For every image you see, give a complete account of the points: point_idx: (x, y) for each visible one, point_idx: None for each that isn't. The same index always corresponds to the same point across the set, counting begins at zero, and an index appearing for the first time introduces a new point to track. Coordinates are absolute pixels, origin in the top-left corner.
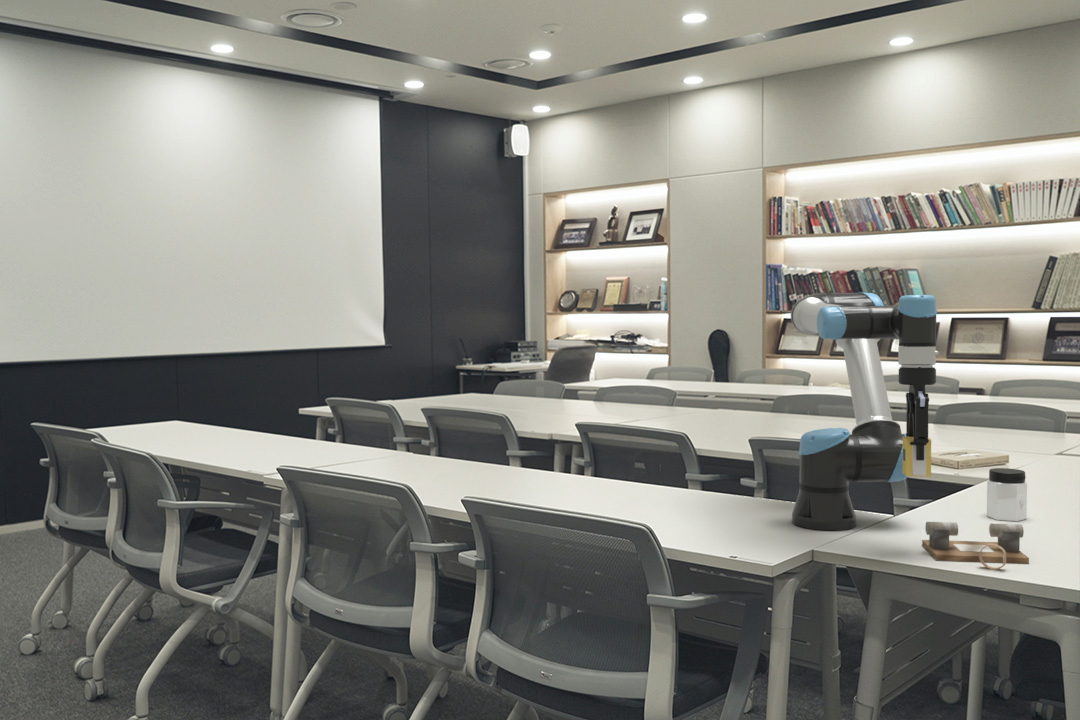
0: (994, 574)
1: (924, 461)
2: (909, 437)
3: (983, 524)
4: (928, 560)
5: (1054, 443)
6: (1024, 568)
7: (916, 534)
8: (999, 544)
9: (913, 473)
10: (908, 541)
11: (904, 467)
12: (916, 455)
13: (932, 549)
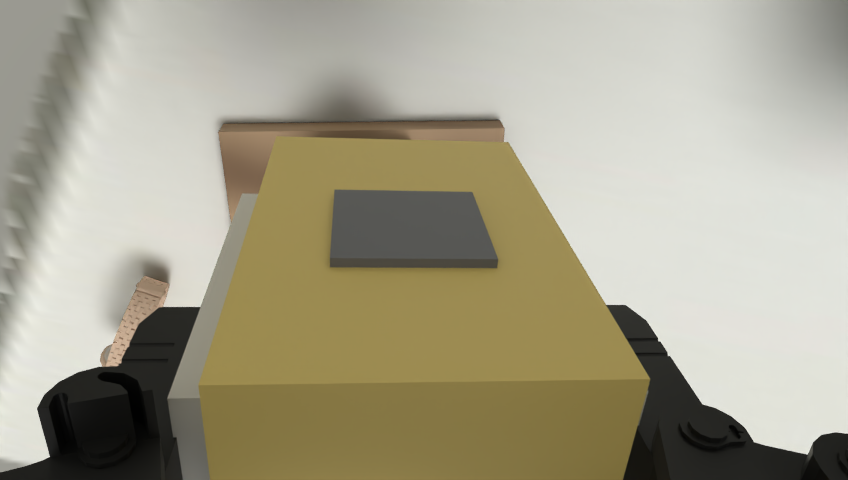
0: (66, 287)
1: None
2: (489, 456)
3: (839, 407)
4: (216, 88)
5: None
6: None
7: (704, 136)
8: None
9: (240, 207)
10: (569, 72)
11: (392, 165)
12: (175, 340)
13: (317, 134)
